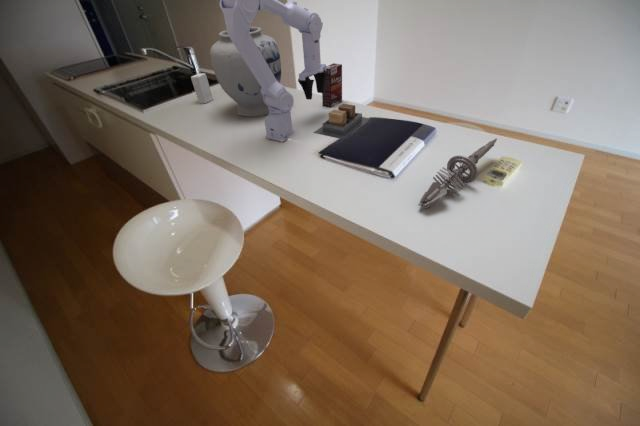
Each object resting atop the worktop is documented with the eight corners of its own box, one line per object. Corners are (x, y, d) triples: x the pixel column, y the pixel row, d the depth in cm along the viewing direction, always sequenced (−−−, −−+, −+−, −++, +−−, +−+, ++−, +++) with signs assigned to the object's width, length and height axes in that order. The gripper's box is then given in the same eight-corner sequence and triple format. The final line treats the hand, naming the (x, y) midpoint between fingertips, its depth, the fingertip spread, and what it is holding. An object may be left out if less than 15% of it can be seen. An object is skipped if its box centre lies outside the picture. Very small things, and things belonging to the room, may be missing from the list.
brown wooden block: (350, 125, 105) (350, 109, 101) (338, 123, 107) (337, 107, 103) (355, 121, 107) (355, 105, 104) (343, 119, 110) (343, 103, 106)
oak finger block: (341, 131, 101) (341, 115, 97) (329, 129, 103) (328, 112, 100) (346, 127, 104) (346, 111, 100) (335, 125, 106) (334, 109, 102)
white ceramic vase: (277, 122, 114) (263, 34, 95) (215, 121, 118) (190, 37, 99) (292, 99, 134) (283, 22, 115) (239, 99, 139) (221, 26, 119)
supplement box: (331, 110, 120) (330, 69, 110) (322, 108, 123) (320, 68, 113) (343, 103, 125) (342, 64, 115) (333, 102, 128) (332, 62, 118)
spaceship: (518, 138, 76) (492, 120, 78) (443, 208, 61) (415, 184, 64) (498, 157, 82) (475, 140, 85) (427, 225, 68) (402, 202, 70)
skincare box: (206, 99, 142) (198, 72, 134) (214, 99, 141) (206, 73, 133) (198, 103, 138) (189, 76, 130) (206, 104, 136) (197, 76, 128)
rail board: (345, 142, 97) (345, 132, 95) (313, 135, 103) (312, 125, 101) (370, 120, 109) (371, 111, 107) (340, 115, 115) (340, 106, 113)
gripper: (309, 60, 92) (312, 103, 101) (332, 51, 101) (333, 91, 110) (292, 59, 95) (296, 100, 104) (316, 50, 104) (318, 89, 113)
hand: (314, 95), depth 107 cm, fingers open, 7 cm apart
